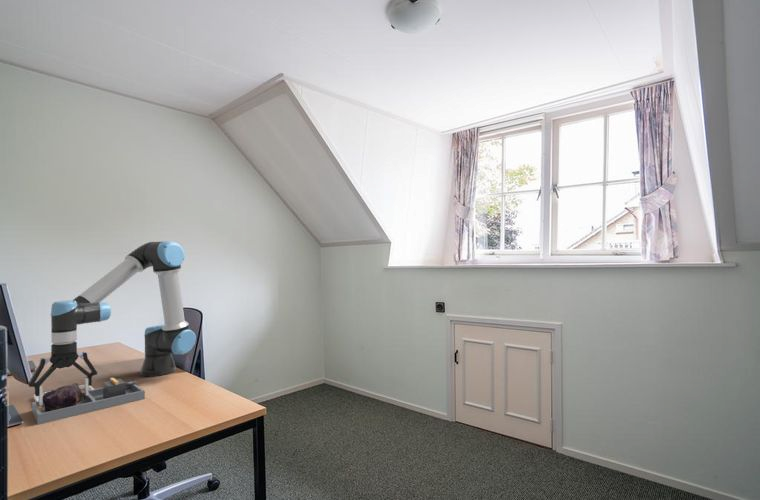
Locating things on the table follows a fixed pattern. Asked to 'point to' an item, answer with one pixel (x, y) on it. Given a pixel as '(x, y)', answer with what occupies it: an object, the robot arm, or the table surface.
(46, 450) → the table surface
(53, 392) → the rock
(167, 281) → the robot arm
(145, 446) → the table surface
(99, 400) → the holder
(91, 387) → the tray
